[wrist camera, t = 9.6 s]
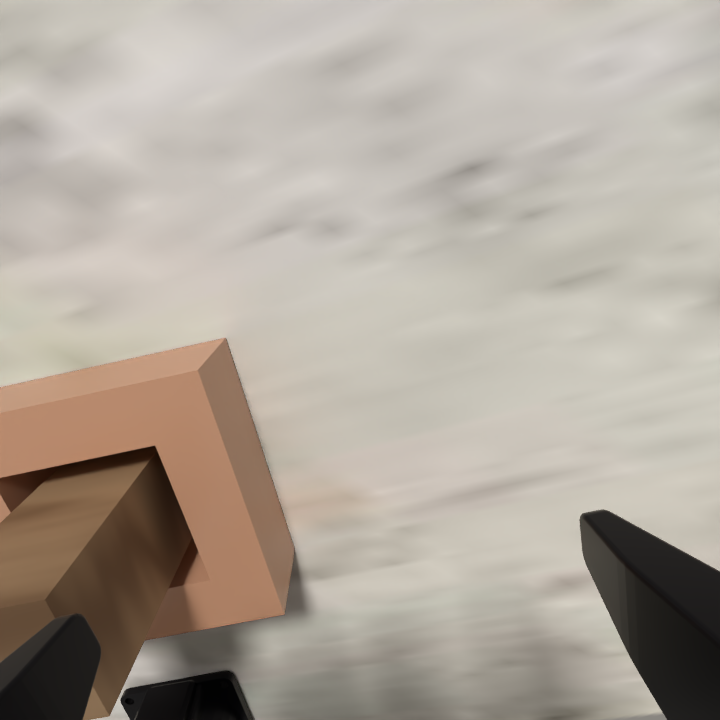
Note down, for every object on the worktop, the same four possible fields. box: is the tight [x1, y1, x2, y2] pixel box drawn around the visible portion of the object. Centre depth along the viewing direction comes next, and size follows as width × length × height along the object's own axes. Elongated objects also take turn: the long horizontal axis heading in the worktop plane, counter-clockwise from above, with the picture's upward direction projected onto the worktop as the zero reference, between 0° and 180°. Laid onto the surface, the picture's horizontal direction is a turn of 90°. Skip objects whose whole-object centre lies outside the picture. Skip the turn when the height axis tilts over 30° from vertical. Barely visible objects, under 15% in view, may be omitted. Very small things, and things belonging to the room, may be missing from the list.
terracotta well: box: [0, 338, 295, 641], centre depth 21 cm, size 12×12×4 cm
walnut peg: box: [0, 446, 192, 720], centre depth 18 cm, size 4×4×10 cm
